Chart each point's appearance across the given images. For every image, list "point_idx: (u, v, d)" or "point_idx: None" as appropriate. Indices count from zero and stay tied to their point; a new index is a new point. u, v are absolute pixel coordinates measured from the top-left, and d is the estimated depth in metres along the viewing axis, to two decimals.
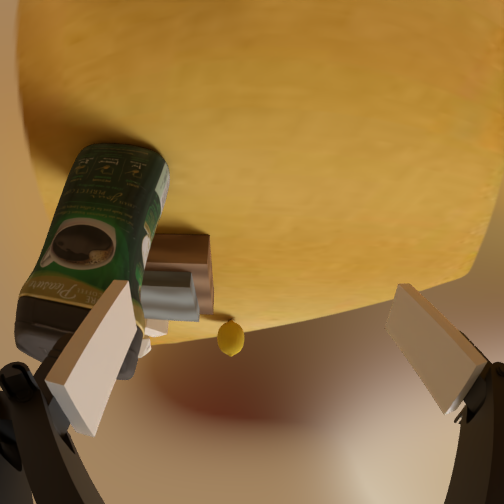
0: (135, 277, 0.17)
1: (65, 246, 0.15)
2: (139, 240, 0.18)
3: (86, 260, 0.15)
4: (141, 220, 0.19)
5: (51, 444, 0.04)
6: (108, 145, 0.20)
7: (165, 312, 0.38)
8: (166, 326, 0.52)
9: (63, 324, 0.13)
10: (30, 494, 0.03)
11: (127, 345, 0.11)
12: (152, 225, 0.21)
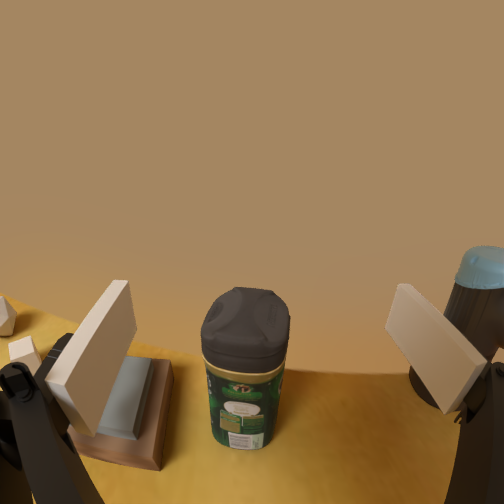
0: (260, 392, 0.23)
1: None
2: (264, 407, 0.24)
3: None
4: (267, 414, 0.25)
5: (51, 444, 0.04)
6: None
7: None
8: None
9: None
10: (30, 494, 0.03)
11: (127, 345, 0.11)
12: (250, 422, 0.25)
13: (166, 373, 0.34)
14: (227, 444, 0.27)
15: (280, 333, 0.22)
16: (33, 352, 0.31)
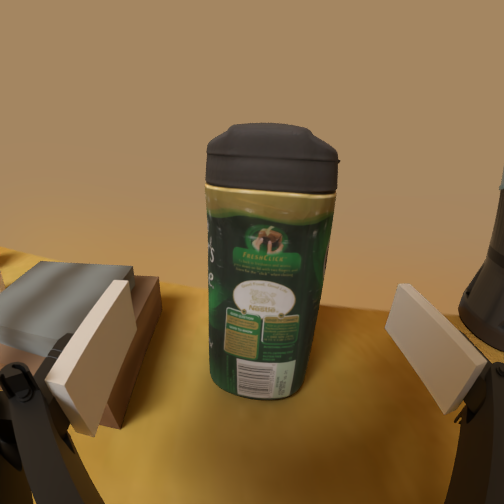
0: (299, 254, 0.15)
1: None
2: (301, 296, 0.16)
3: None
4: (304, 316, 0.16)
5: (51, 444, 0.04)
6: None
7: (24, 295, 0.18)
8: None
9: None
10: (30, 494, 0.03)
11: (127, 345, 0.11)
12: (276, 332, 0.16)
13: (150, 289, 0.25)
14: (233, 388, 0.18)
15: None
16: None
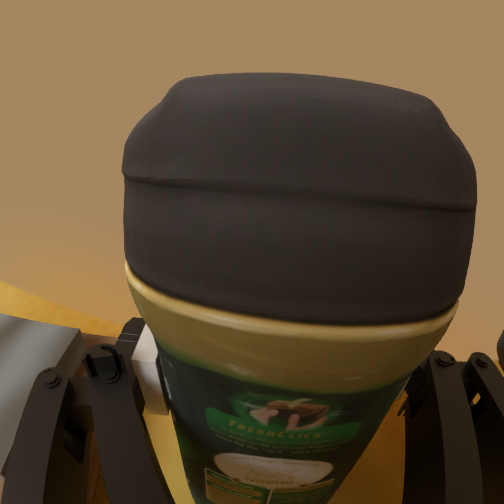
0: (358, 422, 0.05)
1: None
2: (345, 462, 0.06)
3: None
4: (343, 475, 0.07)
5: (135, 429, 0.05)
6: None
7: None
8: None
9: None
10: (86, 487, 0.05)
11: None
12: (292, 497, 0.07)
13: None
14: None
15: None
16: None
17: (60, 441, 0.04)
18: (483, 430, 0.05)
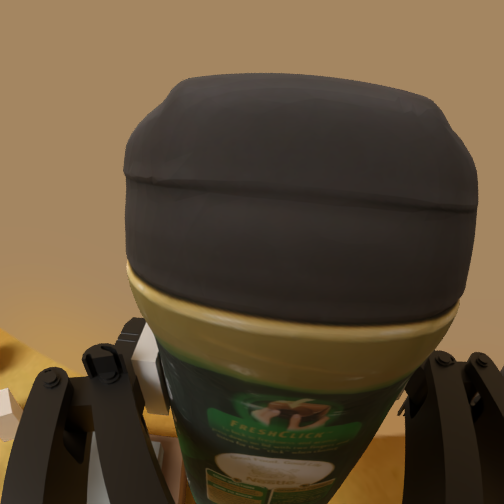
0: (359, 422, 0.05)
1: None
2: (345, 461, 0.06)
3: None
4: (344, 475, 0.07)
5: (135, 429, 0.05)
6: None
7: None
8: None
9: None
10: (86, 487, 0.05)
11: None
12: (293, 497, 0.07)
13: (181, 458, 0.22)
14: None
15: None
16: (11, 413, 0.19)
17: (60, 441, 0.04)
18: (483, 430, 0.05)
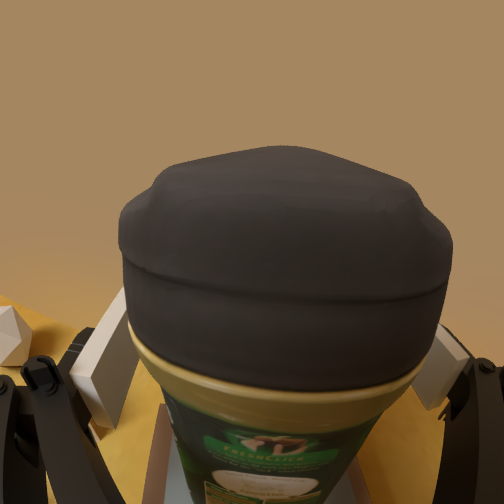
0: (336, 448, 0.06)
1: None
2: (329, 477, 0.07)
3: None
4: (329, 487, 0.07)
5: (75, 439, 0.04)
6: None
7: None
8: None
9: None
10: (45, 491, 0.04)
11: None
12: None
13: None
14: None
15: None
16: None
17: (12, 445, 0.04)
18: None
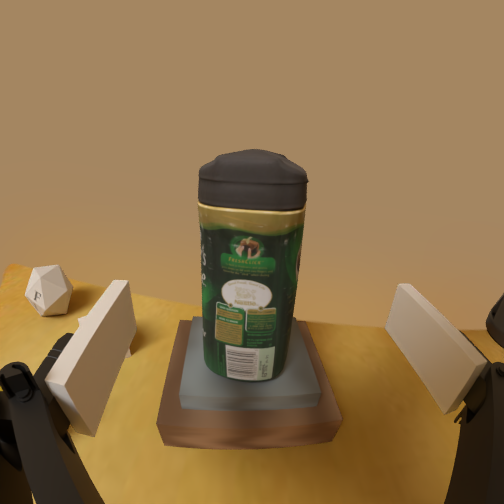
0: (273, 258, 0.18)
1: None
2: (277, 292, 0.19)
3: None
4: (280, 309, 0.20)
5: (51, 444, 0.04)
6: None
7: None
8: None
9: None
10: (30, 494, 0.03)
11: (127, 345, 0.11)
12: (257, 322, 0.20)
13: (309, 333, 0.33)
14: (223, 372, 0.22)
15: (297, 168, 0.18)
16: None
17: None
18: None
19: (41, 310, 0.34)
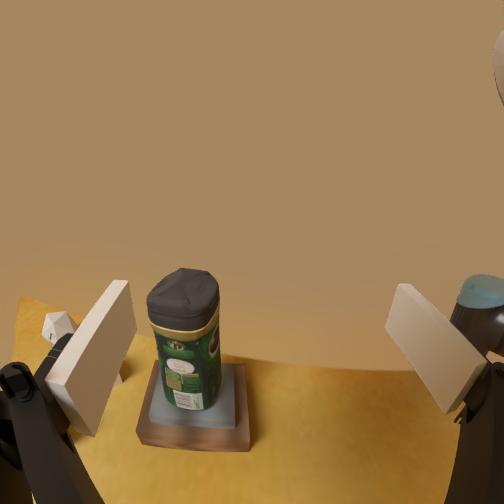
0: (191, 350, 0.30)
1: (218, 331, 0.34)
2: (197, 366, 0.31)
3: (214, 335, 0.32)
4: (201, 374, 0.31)
5: (51, 444, 0.04)
6: (220, 384, 0.38)
7: None
8: None
9: (214, 303, 0.31)
10: (30, 494, 0.03)
11: (127, 345, 0.11)
12: (188, 380, 0.31)
13: (244, 375, 0.44)
14: (174, 403, 0.33)
15: (203, 301, 0.29)
16: None
17: None
18: None
19: None
